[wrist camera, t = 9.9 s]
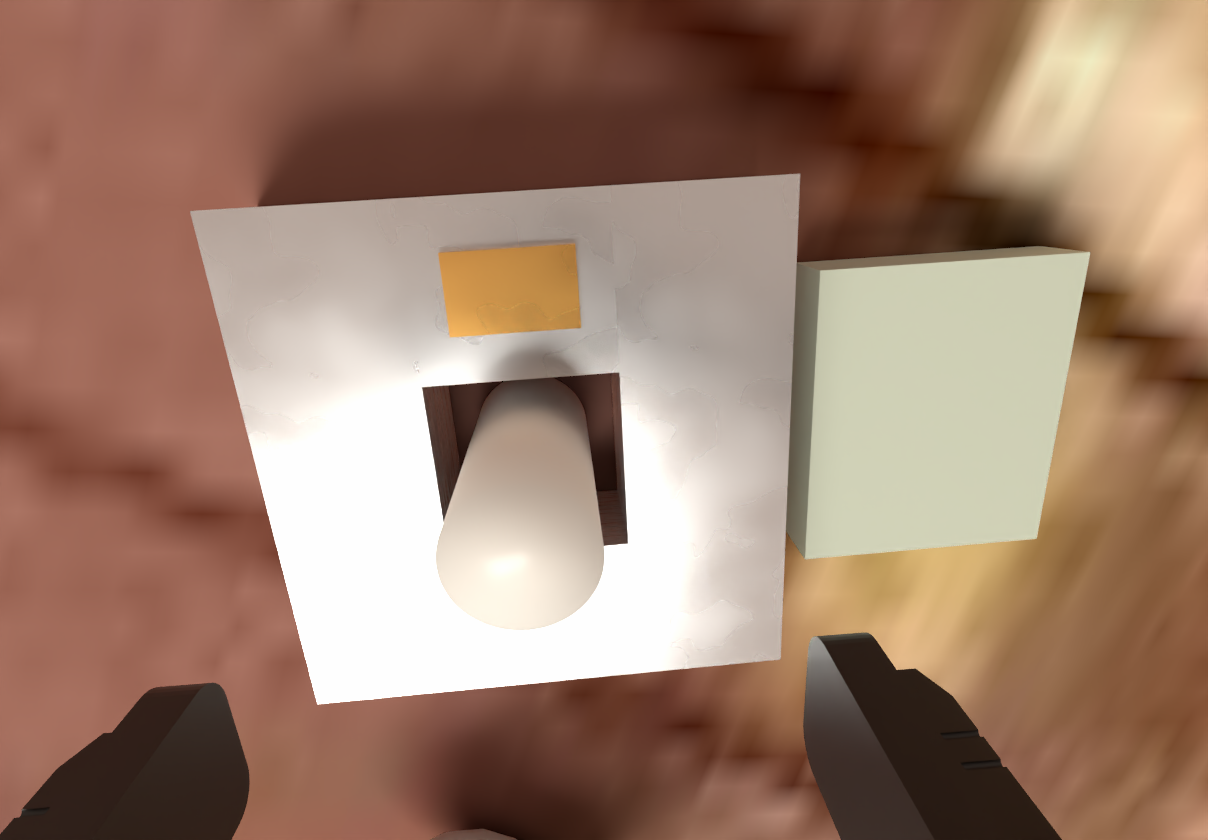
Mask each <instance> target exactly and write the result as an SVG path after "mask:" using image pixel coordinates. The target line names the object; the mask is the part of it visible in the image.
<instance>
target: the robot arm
mask: <svg viewBox="0 0 1208 840" xmlns="http://www.w3.org/2000/svg"><path fill="white" fill-rule="evenodd" d="M803 727H804V739H805V745H806V751H807V755H808V759H809V763H810V766H811V769H812V772H813V774H814V777H815V779H816V782H817V784H818V786H819V789H820V791H821V793H822V796H823V798H824V800H825V803H826V805H827V808H828V810H829V812H830V815H831V817H832V819H833V822H834V824H835V826H836V829H837V831H838V833H839V836H840V838H841V840H1062V839H1061V838H1060V837H1059V835H1058V834H1057V833H1056V831H1055V830H1054V829H1053V827H1052V826H1051V825H1050V823H1049V822H1048V821H1047V820H1046V818H1045V817H1044V816H1043V814H1042V813H1041V812H1040V810H1039V809H1038V808H1037V806H1036V805H1035V804H1034V802H1033V801H1032V800H1031V799H1030V797H1029V796H1028V795H1027V793H1026V792H1025V791H1024V789H1023V788H1022V787H1021V785H1020V784H1019V783H1018V781H1017V780H1016V779H1015V778H1014V776H1013V775H1012V774H1011V772H1010V771H1009V770H1008V768H1007V767H1003V766H1002V764H1001V761H1000V760H1001V759H1000V758H999V757H998V755H997V754H996V753H995V751H994V750H993V749H992V747H991V746H990V745H989V743H988V742H987V741H986V739H985V738H984V737H980V736H979V733H978V729H977V728H976V726H975V725H974V724H973V722H972V721H971V720H970V718H969V717H968V716H967V715H966V713H965V712H964V711H963V709H962V708H961V707H960V705H959V704H958V703H957V701H956V700H955V699H954V698H953V696H952V695H950V694H949V693H948V692H946V691H945V690H944V689H942V688H941V687H940V686H938V685H937V684H935V683H934V682H933V681H931V680H930V679H929V678H927V677H926V676H925V675H923V674H922V673H921V672H919V671H918V670H916V669H906V670H896V669H895V667H894V666H893V664H892V663H891V661H890V660H889V658H888V657H887V655H886V654H885V653H884V651H883V650H882V648H881V647H880V645H879V644H878V642H877V641H876V640H875V638H874V637H873V636H872V635H871V634H869V633H853V634H840V635H828V636H815V637H813V638H812V639H811V641H810V643H809V649H808V662H807V677H806V692H805V706H804V723H803ZM248 793H249V770H248V766H247V762H246V759H245V756H244V752H243V749H242V746H241V743H240V739H239V736H238V733H237V730H236V726H235V723H234V720H233V717H232V713H231V710H230V707H229V704H228V700H227V697H226V694H225V692H224V690H223V689H222V687H221V686H220V685H218V684H216V683H204V684H192V685H179V686H167V687H157V688H153V689H151V690H149V691H148V692H146V693H145V694H144V695H143V696H142V697H141V698H140V699H139V701H138V702H137V703H136V704H135V705H134V707H133V708H132V709H131V710H130V712H129V713H128V714H127V715H126V716H125V718H124V719H123V720H122V721H121V722H120V724H119V725H118V726H117V727H116V728H115V730H114V731H113V732H112V733H103V734H102V735H101V736H99V737H98V738H97V739H95V740H94V741H93V742H92V743H90V744H89V745H88V746H86V747H85V748H84V749H82V750H81V751H80V752H78V753H77V754H76V755H75V756H73V757H72V758H71V759H69V760H68V761H67V762H65V763H64V764H63V765H61V766H60V767H59V768H58V769H57V770H56V771H55V772H54V773H53V774H52V775H51V776H50V778H49V779H48V780H47V781H46V782H45V783H44V784H43V786H42V787H41V788H40V789H39V790H38V791H37V793H36V794H35V795H34V796H33V797H32V798H31V799H30V801H29V802H28V803H27V804H26V805H25V806H24V807H23V809H22V814H21V816H20V817H19V818H14V819H13V820H12V821H11V822H10V824H9V825H8V826H7V827H6V828H5V829H4V830H3V832H2V833H1V834H0V840H231V839H232V837H233V835H234V834H235V832H236V830H237V828H238V826H239V824H240V821H241V819H242V817H243V814H244V811H245V808H246V804H247V799H248Z"/></svg>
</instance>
